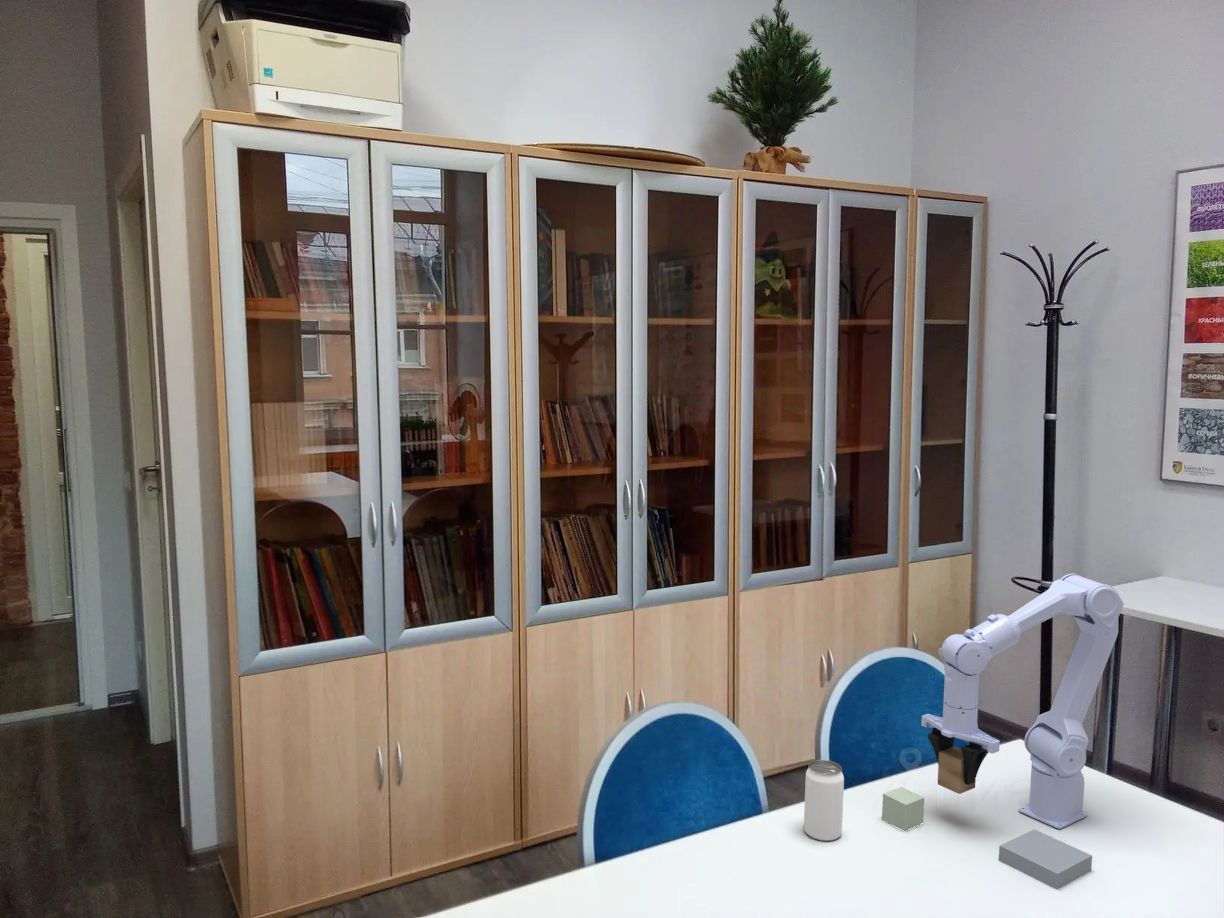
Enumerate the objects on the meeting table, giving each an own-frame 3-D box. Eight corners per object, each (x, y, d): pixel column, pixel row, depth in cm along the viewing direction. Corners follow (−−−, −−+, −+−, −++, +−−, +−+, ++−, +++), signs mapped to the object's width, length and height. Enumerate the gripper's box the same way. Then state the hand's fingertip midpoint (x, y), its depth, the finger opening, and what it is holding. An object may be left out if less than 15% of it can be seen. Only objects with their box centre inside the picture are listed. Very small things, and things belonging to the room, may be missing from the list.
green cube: (900, 813, 166) (901, 786, 165) (923, 824, 162) (924, 797, 161) (881, 820, 163) (883, 793, 163) (904, 832, 159) (906, 804, 158)
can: (842, 844, 154) (845, 776, 153) (803, 839, 156) (806, 772, 154) (840, 825, 161) (843, 760, 160) (803, 821, 162) (805, 757, 161)
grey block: (1033, 845, 156) (1034, 829, 155) (1091, 873, 147) (1092, 855, 147) (998, 862, 150) (999, 845, 150) (1056, 892, 142) (1057, 873, 141)
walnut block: (953, 778, 165) (954, 746, 164) (975, 787, 161) (976, 755, 161) (937, 784, 163) (939, 751, 162) (959, 794, 159) (961, 761, 158)
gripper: (912, 695, 164) (908, 767, 166) (983, 721, 152) (979, 799, 154) (936, 688, 168) (933, 758, 170) (1008, 713, 156) (1004, 789, 158)
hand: (956, 777), depth 162 cm, fingers closed on walnut block, 4 cm apart
